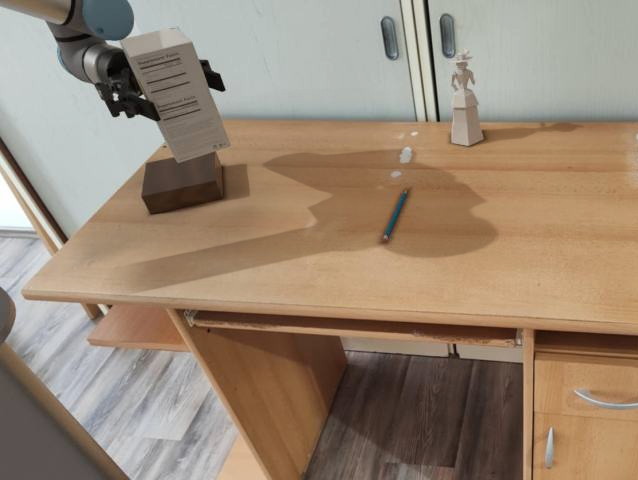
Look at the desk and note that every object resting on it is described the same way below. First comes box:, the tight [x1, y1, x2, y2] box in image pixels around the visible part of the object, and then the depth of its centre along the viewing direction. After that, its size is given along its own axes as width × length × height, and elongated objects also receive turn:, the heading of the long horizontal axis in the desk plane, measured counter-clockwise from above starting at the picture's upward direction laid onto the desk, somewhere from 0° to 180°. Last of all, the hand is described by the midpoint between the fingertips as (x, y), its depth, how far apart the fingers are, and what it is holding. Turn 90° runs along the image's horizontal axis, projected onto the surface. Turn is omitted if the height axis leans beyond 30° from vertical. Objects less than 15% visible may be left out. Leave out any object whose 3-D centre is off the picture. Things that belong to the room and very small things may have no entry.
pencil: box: [381, 189, 408, 244], centre depth 107 cm, size 1×17×1 cm, turn 170°
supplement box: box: [118, 26, 232, 163], centre depth 94 cm, size 10×9×17 cm
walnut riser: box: [140, 151, 224, 215], centre depth 118 cm, size 14×14×4 cm
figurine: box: [449, 48, 484, 147], centre depth 120 cm, size 7×8×18 cm
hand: (189, 97), depth 92 cm, fingers closed on supplement box, 11 cm apart
